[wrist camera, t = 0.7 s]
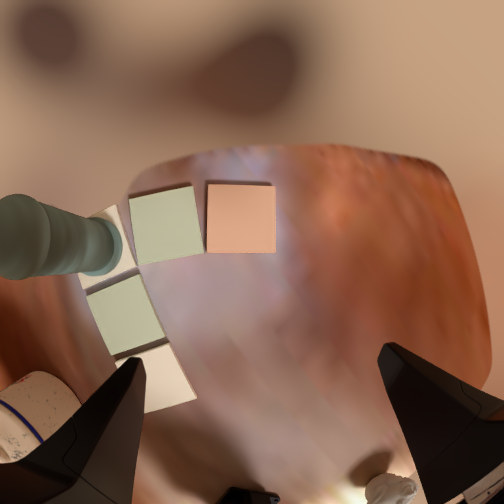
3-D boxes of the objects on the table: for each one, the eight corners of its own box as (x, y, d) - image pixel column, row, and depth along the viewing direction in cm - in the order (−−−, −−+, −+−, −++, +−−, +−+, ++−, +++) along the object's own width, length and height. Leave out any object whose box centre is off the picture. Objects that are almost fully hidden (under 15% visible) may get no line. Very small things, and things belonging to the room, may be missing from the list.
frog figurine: (395, 481, 25) (418, 506, 18) (352, 499, 24) (372, 529, 17) (401, 455, 25) (429, 481, 18) (355, 475, 24) (379, 507, 17)
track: (179, 426, 21) (178, 430, 21) (31, 334, 20) (28, 335, 19) (299, 203, 23) (301, 201, 23) (133, 118, 22) (132, 115, 21)
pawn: (107, 286, 21) (4, 311, 8) (66, 258, 20) (-43, 255, 7) (132, 234, 21) (40, 205, 8) (89, 209, 21) (-12, 164, 8)
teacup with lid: (28, 350, 20) (-44, 387, 8) (98, 400, 21) (44, 469, 9) (19, 422, 19) (-29, 465, 7) (79, 465, 20) (44, 524, 8)
